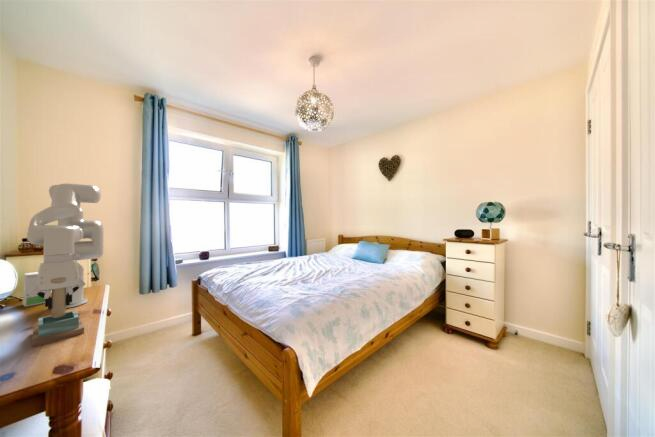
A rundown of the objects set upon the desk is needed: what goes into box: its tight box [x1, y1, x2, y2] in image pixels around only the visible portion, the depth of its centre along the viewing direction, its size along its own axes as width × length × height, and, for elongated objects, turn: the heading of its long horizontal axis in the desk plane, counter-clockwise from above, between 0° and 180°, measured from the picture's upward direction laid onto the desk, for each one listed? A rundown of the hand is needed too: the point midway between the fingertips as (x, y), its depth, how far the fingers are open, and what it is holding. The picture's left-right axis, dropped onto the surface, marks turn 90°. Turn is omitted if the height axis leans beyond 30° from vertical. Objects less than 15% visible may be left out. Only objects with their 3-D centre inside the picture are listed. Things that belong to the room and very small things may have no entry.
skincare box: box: [22, 271, 45, 308], centre depth 115 cm, size 8×7×16 cm
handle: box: [50, 278, 67, 318], centre depth 86 cm, size 5×6×15 cm
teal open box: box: [32, 309, 85, 348], centre depth 86 cm, size 14×12×6 cm
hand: (58, 305), depth 86 cm, fingers closed on handle, 3 cm apart
